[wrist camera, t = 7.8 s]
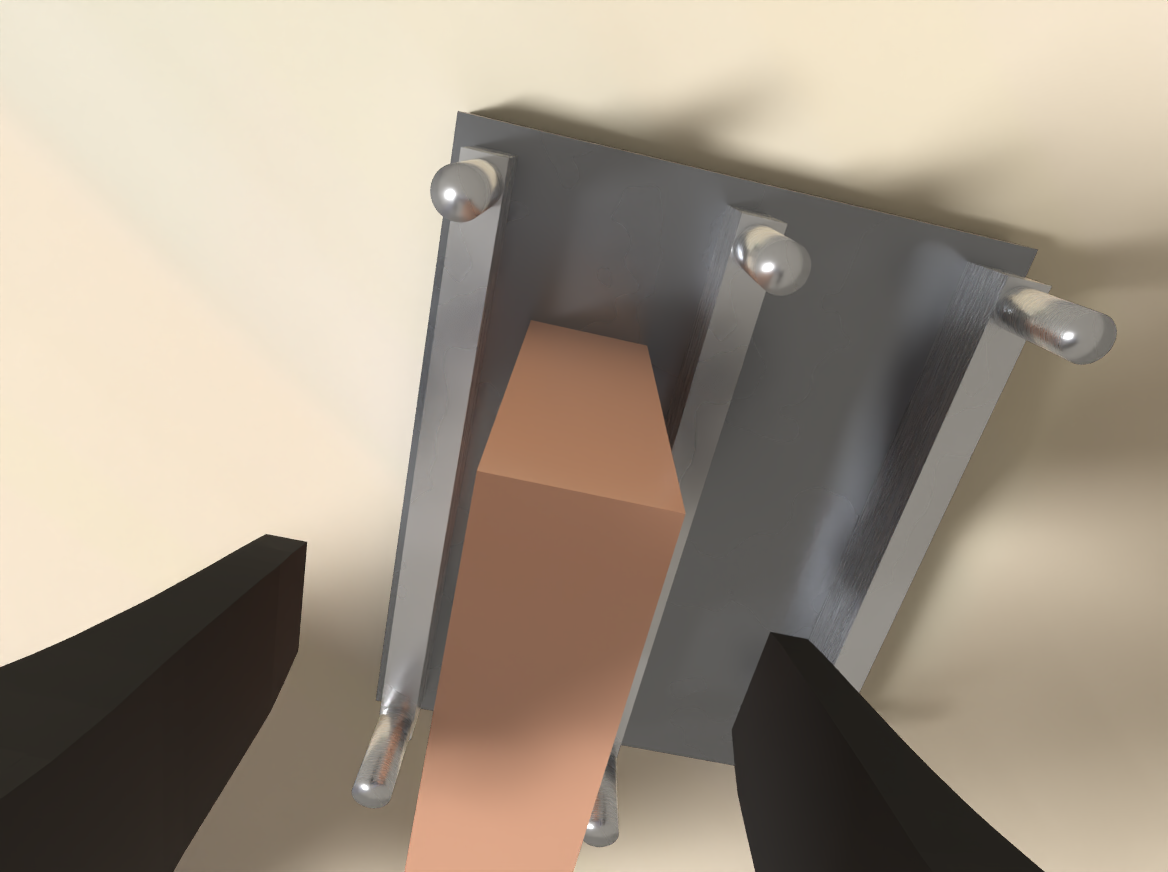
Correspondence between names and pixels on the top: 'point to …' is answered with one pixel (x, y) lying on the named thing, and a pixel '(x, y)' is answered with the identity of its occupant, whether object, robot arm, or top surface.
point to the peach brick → (548, 607)
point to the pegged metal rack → (712, 407)
